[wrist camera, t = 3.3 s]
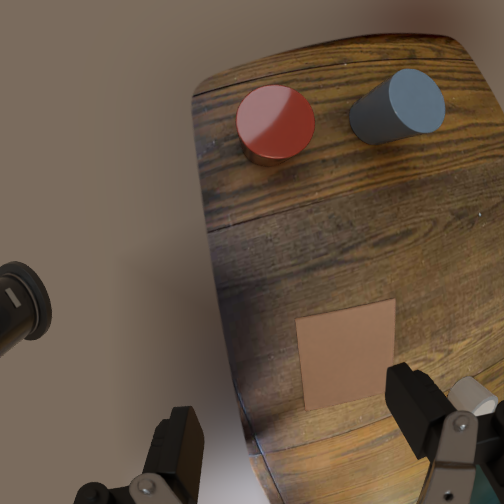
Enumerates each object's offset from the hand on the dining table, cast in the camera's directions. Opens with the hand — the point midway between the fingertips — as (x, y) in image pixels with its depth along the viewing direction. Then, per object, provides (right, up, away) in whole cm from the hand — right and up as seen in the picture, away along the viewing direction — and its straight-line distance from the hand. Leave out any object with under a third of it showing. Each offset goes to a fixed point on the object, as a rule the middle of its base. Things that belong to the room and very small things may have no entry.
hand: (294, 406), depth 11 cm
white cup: (+32, -16, +26) cm, 44 cm away
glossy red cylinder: (0, +17, +18) cm, 25 cm away
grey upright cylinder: (+11, +20, +17) cm, 29 cm away
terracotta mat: (+10, -7, +24) cm, 27 cm away
